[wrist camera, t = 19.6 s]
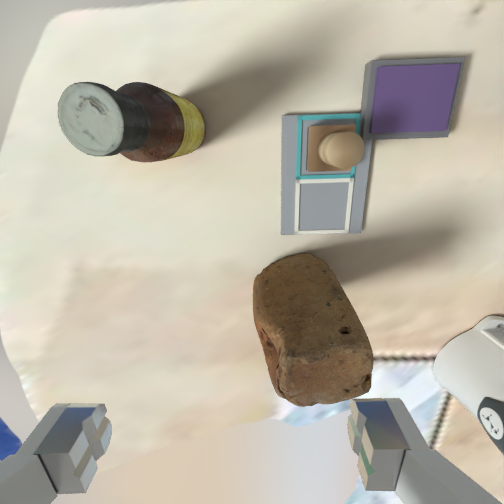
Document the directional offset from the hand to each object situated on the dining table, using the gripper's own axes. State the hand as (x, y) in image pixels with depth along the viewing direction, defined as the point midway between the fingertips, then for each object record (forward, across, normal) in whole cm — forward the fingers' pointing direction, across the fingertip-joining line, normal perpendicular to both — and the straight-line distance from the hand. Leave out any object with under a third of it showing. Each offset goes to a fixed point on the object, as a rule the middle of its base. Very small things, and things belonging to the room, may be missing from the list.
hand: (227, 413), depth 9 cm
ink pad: (+31, +19, +12) cm, 38 cm away
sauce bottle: (+31, -8, +10) cm, 34 cm away
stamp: (+30, +10, +7) cm, 33 cm away
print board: (+31, +10, +3) cm, 33 cm away
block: (+31, +6, -11) cm, 34 cm away
